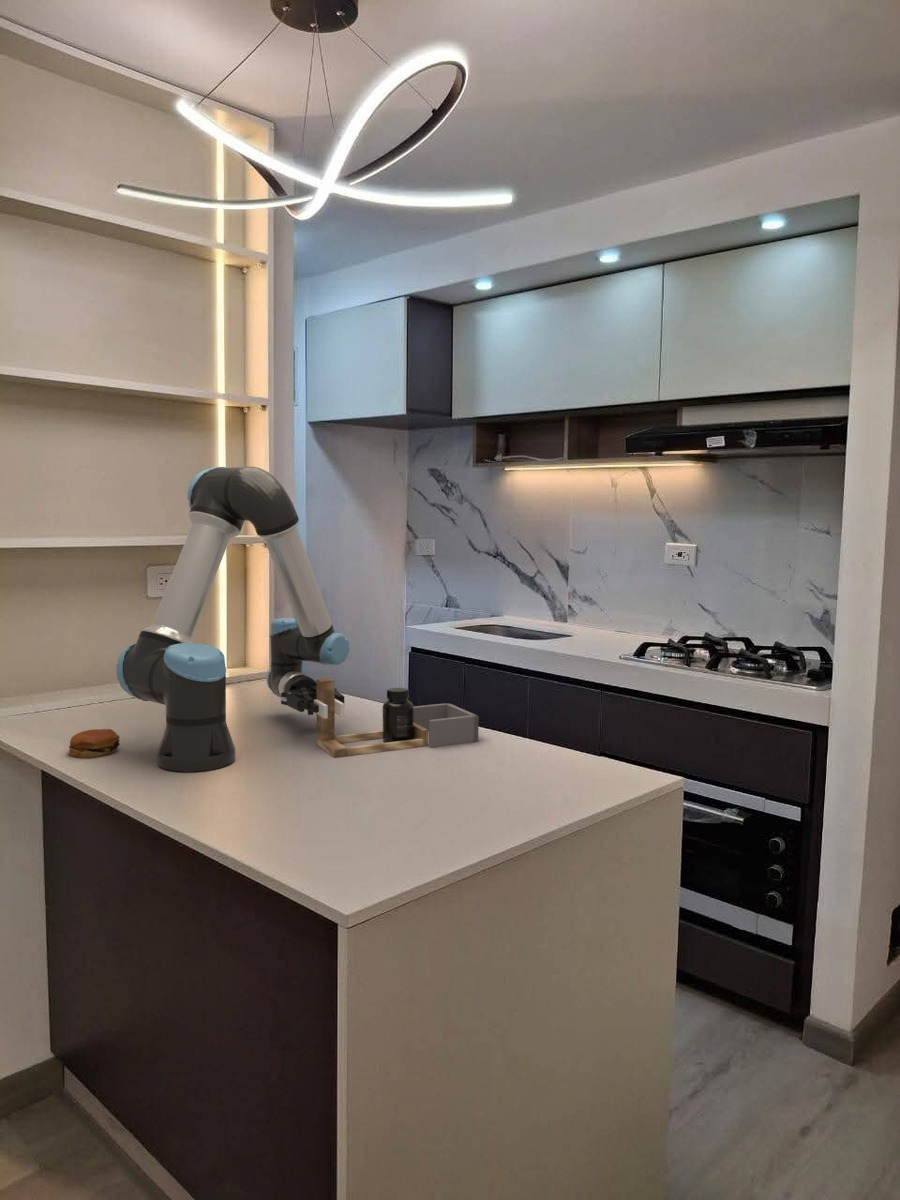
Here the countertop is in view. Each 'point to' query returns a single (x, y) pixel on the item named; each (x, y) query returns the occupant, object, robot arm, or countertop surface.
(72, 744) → the burger
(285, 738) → the countertop surface
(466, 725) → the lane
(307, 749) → the countertop surface
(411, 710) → the supplement bottle
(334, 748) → the wooden corner frame
